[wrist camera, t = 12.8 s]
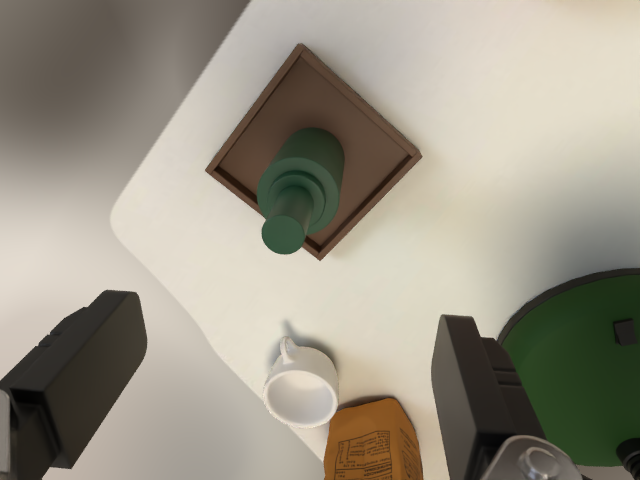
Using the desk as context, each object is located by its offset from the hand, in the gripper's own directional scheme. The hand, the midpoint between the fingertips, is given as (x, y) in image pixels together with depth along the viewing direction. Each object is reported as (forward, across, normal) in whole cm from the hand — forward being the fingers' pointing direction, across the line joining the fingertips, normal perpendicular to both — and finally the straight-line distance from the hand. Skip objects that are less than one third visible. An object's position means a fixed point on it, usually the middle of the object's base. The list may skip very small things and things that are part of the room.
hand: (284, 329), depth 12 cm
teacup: (+28, +3, +26) cm, 38 cm away
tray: (+28, +2, +3) cm, 29 cm away
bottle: (+28, +2, +3) cm, 28 cm away
